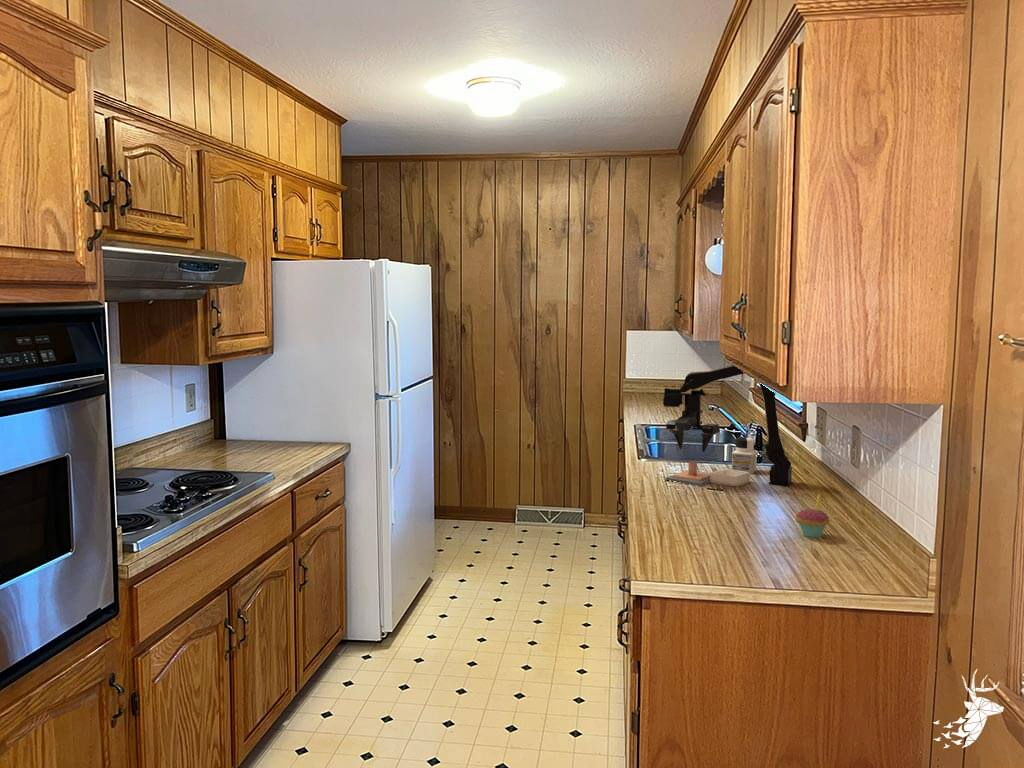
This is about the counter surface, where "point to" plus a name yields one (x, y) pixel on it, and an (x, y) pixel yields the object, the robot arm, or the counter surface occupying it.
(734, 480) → the dish
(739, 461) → the container
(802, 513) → the cupcake
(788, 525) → the counter surface
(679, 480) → the trivet
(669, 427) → the robot arm
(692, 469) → the lid
